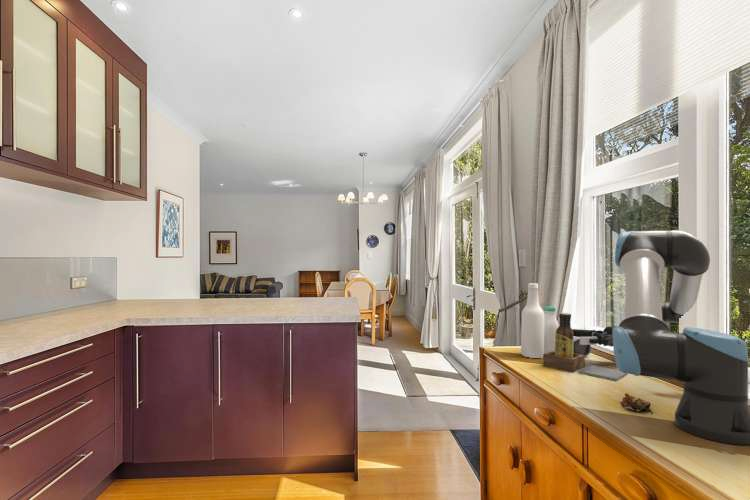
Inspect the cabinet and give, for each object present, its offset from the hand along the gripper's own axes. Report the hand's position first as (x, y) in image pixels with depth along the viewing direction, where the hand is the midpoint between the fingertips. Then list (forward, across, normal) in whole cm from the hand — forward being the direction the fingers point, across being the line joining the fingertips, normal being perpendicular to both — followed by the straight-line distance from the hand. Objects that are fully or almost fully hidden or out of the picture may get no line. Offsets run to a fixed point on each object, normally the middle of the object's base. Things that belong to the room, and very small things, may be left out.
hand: (568, 337), depth 151 cm
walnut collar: (+2, 0, -11) cm, 11 cm away
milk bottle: (-4, +18, -11) cm, 21 cm away
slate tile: (-6, -11, -11) cm, 16 cm away
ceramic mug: (-15, +16, -11) cm, 24 cm away
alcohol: (+5, +15, -11) cm, 20 cm away
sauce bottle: (+2, 0, -11) cm, 11 cm away
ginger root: (+8, -39, -12) cm, 42 cm away
